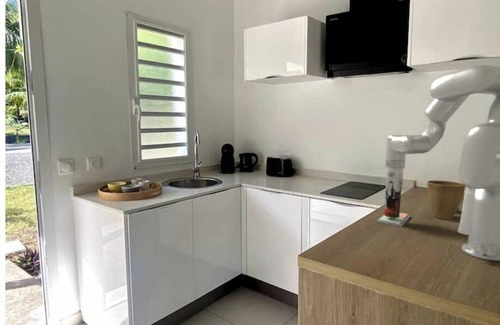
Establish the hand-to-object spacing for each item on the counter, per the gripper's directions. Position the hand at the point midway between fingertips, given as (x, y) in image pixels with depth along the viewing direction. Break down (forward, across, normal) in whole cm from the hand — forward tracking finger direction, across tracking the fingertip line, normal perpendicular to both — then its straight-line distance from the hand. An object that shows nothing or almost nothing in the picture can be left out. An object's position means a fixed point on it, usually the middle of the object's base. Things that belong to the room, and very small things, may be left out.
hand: (392, 205), depth 139 cm
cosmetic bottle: (+8, +4, -27) cm, 28 cm away
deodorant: (+5, 0, 0) cm, 5 cm away
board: (+7, +4, 0) cm, 9 cm away
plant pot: (+8, +22, -17) cm, 29 cm away
